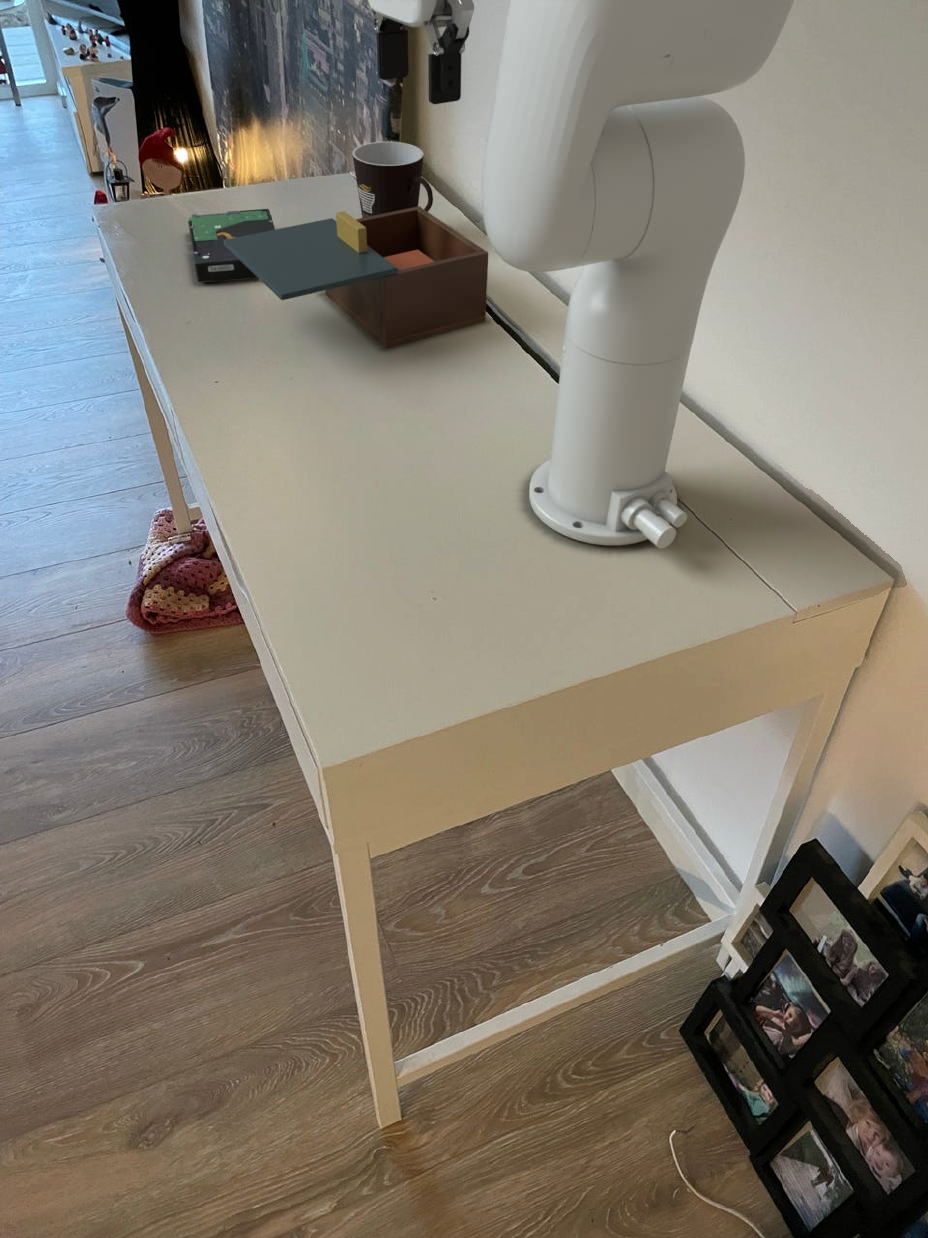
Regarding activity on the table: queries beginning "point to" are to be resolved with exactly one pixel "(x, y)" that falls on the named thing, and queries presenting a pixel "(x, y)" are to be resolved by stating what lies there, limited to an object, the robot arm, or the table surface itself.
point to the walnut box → (417, 280)
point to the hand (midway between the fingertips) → (418, 89)
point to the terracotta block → (408, 259)
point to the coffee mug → (389, 177)
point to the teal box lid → (311, 256)
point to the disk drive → (209, 242)
